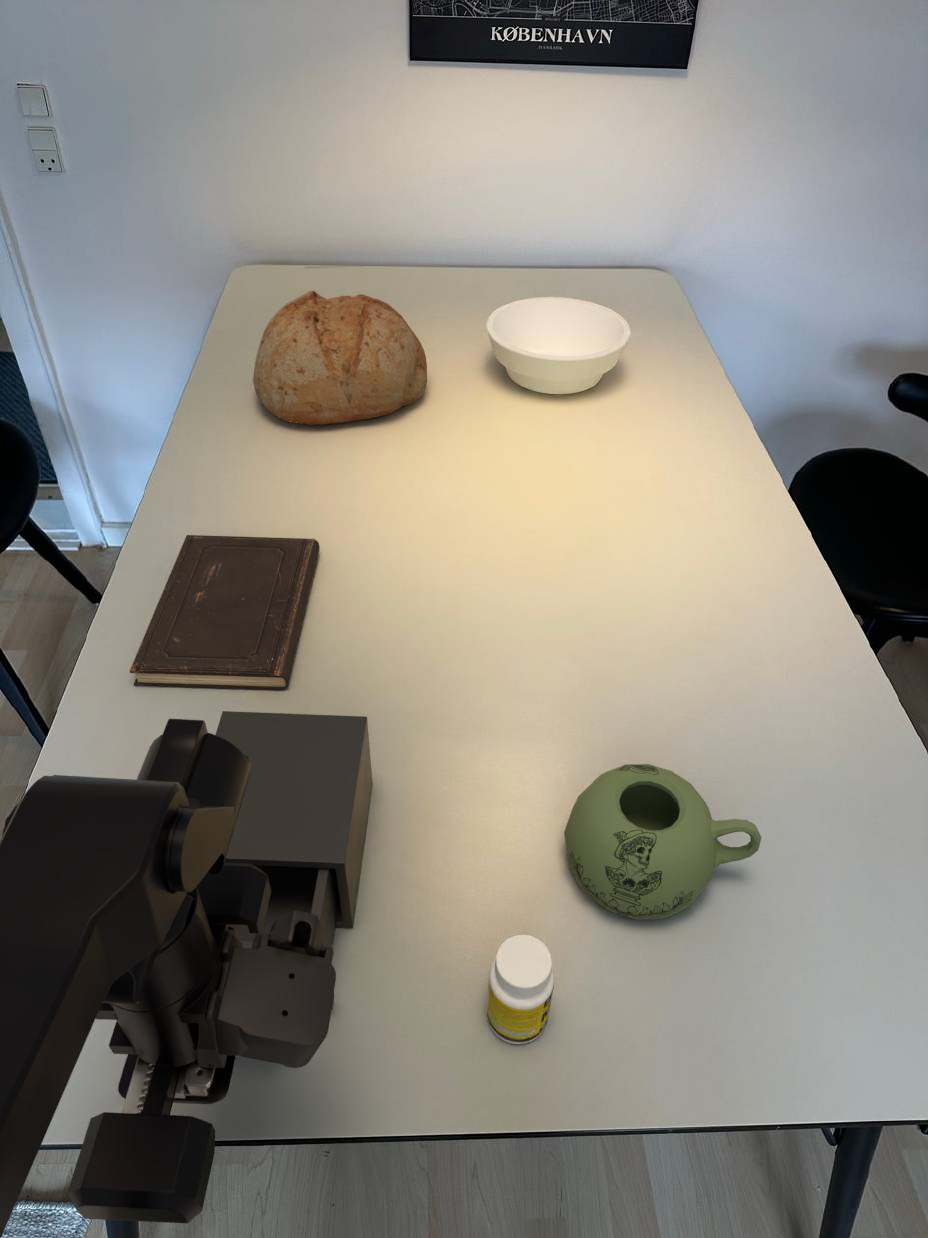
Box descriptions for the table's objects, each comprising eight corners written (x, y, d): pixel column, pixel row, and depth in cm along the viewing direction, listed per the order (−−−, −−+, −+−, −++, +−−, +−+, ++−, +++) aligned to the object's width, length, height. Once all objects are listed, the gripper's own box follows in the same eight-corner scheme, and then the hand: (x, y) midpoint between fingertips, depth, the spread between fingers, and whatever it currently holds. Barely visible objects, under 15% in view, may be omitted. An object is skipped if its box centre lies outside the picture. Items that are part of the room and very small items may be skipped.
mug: (554, 917, 75) (564, 859, 69) (566, 792, 84) (576, 731, 78) (751, 948, 73) (778, 890, 67) (740, 817, 83) (763, 757, 77)
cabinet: (353, 928, 74) (344, 863, 67) (200, 922, 74) (177, 856, 68) (372, 784, 85) (367, 716, 78) (239, 779, 85) (222, 710, 78)
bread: (420, 356, 150) (419, 265, 140) (436, 428, 133) (436, 331, 123) (259, 363, 147) (245, 271, 137) (253, 438, 130) (238, 340, 120)
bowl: (580, 335, 157) (585, 287, 151) (650, 394, 142) (659, 343, 136) (461, 357, 150) (462, 308, 144) (522, 421, 135) (526, 369, 129)
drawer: (324, 1068, 65) (313, 1021, 60) (166, 1061, 65) (142, 1013, 60) (354, 855, 78) (348, 801, 73) (223, 850, 78) (207, 795, 73)
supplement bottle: (549, 1046, 67) (559, 995, 61) (486, 1045, 67) (490, 993, 61) (546, 984, 71) (555, 929, 65) (485, 983, 71) (489, 928, 65)
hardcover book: (134, 686, 93) (129, 670, 92) (190, 549, 110) (186, 534, 109) (288, 691, 93) (285, 675, 92) (320, 553, 110) (318, 538, 109)
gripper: (281, 1172, 38) (315, 1268, 49) (341, 808, 52) (357, 944, 62) (20, 1160, 38) (110, 1259, 49) (149, 801, 52) (197, 937, 63)
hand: (209, 1080), depth 56 cm, fingers closed
